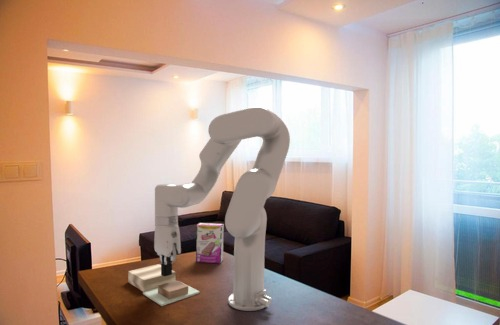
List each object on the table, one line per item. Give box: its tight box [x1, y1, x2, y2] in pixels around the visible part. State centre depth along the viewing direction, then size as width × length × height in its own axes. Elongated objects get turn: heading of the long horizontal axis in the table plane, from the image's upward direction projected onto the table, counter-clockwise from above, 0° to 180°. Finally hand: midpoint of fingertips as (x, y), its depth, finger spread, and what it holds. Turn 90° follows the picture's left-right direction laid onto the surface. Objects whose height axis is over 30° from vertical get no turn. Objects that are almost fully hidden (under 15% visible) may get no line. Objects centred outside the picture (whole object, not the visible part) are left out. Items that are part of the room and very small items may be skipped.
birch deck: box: [127, 263, 177, 293], centre depth 116 cm, size 12×12×4 cm
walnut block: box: [158, 280, 189, 300], centre depth 105 cm, size 7×7×2 cm
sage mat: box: [142, 280, 201, 307], centre depth 106 cm, size 12×14×1 cm
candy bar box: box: [195, 222, 225, 264], centre depth 140 cm, size 11×5×16 cm, turn 84°
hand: (166, 274), depth 109 cm, fingers closed
